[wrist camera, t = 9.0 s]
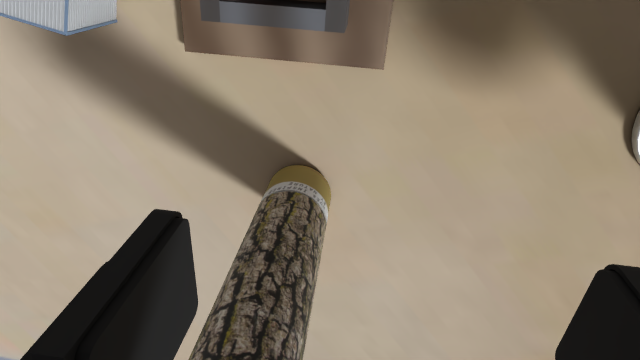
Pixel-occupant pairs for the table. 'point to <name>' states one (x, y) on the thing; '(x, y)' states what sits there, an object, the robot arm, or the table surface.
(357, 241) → the table surface
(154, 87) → the table surface
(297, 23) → the holder
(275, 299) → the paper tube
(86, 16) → the warehouse
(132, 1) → the table surface
